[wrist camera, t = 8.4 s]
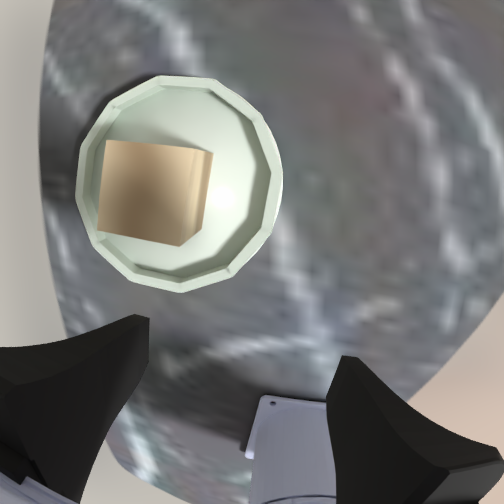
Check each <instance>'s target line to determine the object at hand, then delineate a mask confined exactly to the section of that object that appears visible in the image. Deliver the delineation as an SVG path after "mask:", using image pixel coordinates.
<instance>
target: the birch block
mask: <svg viewBox="0 0 504 504" xmlns="http://www.w3.org/2000/svg"><path fill="white" fill-rule="evenodd" d="M213 155H214V153H210V152H206V151H202V150H198V149H193V148H185V147H177V146H168V145H159V144H150V143H139V142H128V141H115V140H106V147H105V154H104V161H103V169H102V177H101V186H100V196H99V208H98V222H97V230H98V231H103V232H108V233H112V234H117V235H122V236H127V237H132V238H137V239H142V240H147V241H152V242H157V243H162V244H167V245H172V246H177V247H180V246H181V245H183V244H184V243H185V242H186V241H188V240H189V239H190V238H191V237H192V236H194V235H195V234H196V233H197V232H199V231H200V230H201V229H202V224H203V217H204V210H205V204H206V197H207V191H208V185H209V179H210V173H211V167H212V161H213Z"/></svg>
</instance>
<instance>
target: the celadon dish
mask: <svg viewBox="0 0 504 504" xmlns="http://www.w3.org/2000/svg"><path fill="white" fill-rule="evenodd" d="M106 140H115V141H128V142H139V143H150V144H159V145H168V146H177V147H185V148H193V149H198V150H202V151H206V152H210V153H214V155H213V161H212V167H211V173H210V179H209V185H208V191H207V197H206V204H205V210H204V217H203V224H202V229H201V230H200V231H199V232H197V233H196V234H195V235H194V236H192V237H191V238H190V239H189V240H188V241H186V242H185V243H184V244H183V245H181V246H180V247H177V246H172V245H167V244H162V243H157V242H152V241H147V240H142V239H137V238H132V237H127V236H122V235H117V234H112V233H108V232H103V231H98V230H97V222H98V208H99V196H100V186H101V177H102V169H103V161H104V154H105V147H106ZM81 146H82V147H80V154H79V162H78V171H77V181H76V192H75V198H76V199H75V200H76V203H77V206H78V209H79V211H80V214H81V217H82V220H83V222H84V225H85V228H86V230H87V233H88V236H89V238H90V241H91V243H92V246H94V248H95V249H96V250H97V251H98V252H99V253H100V254H101V255H102V256H103V257H104V258H105V259H106V260H107V261H109V262H110V263H111V264H112V265H113V266H114V267H115V268H116V269H117V270H118V271H120V272H121V273H122V274H123V275H124V276H125V277H126V278H127V279H129V280H130V281H131V282H135V283H139V284H144V285H148V286H152V287H156V288H160V289H165V290H169V291H173V292H178V293H183V292H187V291H190V290H193V289H196V288H199V287H203V286H206V285H209V284H212V283H215V282H218V281H222V280H225V279H228V278H231V277H232V276H234V275H235V274H236V273H237V272H238V270H239V269H240V268H241V267H242V266H243V265H244V264H245V263H246V262H247V261H248V260H249V259H250V258H251V257H252V256H253V255H254V254H255V253H256V252H257V251H258V250H259V248H260V247H261V246H262V244H263V243H264V242H265V240H266V239H267V238H268V237H269V235H270V234H271V232H272V228H273V225H274V222H275V220H276V218H277V215H278V211H279V207H280V203H281V197H282V189H283V170H282V165H281V159H280V155H279V151H278V148H277V145H276V142H275V140H274V137H273V135H272V133H271V131H270V129H269V127H268V126H267V124H266V123H265V121H264V119H263V117H262V115H261V113H259V112H258V111H257V110H255V109H254V107H253V106H252V105H250V104H249V103H248V102H247V101H246V100H245V99H244V98H242V97H241V96H239V95H238V94H236V93H235V92H233V91H232V90H230V89H228V88H226V87H225V86H223V85H222V84H221V83H219V82H218V81H217V80H214V79H209V78H197V77H182V76H156V77H154V78H152V79H150V80H148V81H146V82H144V83H142V84H140V85H138V86H137V87H135V88H133V89H131V90H129V91H127V92H125V93H124V94H122V95H120V96H118V97H116V98H115V99H113V100H111V102H109V103H108V105H107V106H106V108H105V109H104V111H103V112H102V113H101V115H100V116H99V118H98V119H97V121H96V122H95V124H94V126H93V127H92V129H91V130H90V132H89V133H88V135H87V137H86V138H85V140H84V141H83V143H82V145H81Z"/></svg>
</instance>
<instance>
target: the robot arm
mask: <svg viewBox="0 0 504 504" xmlns="http://www.w3.org/2000/svg"><path fill="white" fill-rule="evenodd" d="M149 319H150V318H148V317H144V316H140V315H136V314H133V315H130V316H127V317H125V318H122V319H120V320H118V321H115V322H113V323H110V324H108V325H105V326H103V327H100V328H98V329H95V330H93V331H90V332H87V333H84V334H81V335H78V336H75V337H72V338H69V339H65V340H61V341H57V342H52V343H47V344H40V345H33V346H23V347H0V504H80V501H81V498H82V494H83V491H84V488H85V485H86V483H87V480H88V477H89V474H90V472H91V469H92V466H93V464H94V461H95V459H96V457H97V454H98V452H99V450H100V447H101V445H102V443H103V441H104V439H105V437H106V435H107V432H108V430H109V428H110V427H111V425H112V423H113V421H114V420H115V418H116V417H117V415H118V414H119V412H120V411H121V409H122V408H123V406H124V405H125V403H126V402H127V400H128V399H129V397H130V395H131V394H132V392H133V391H134V389H135V388H136V386H137V385H138V383H139V381H140V379H141V377H142V375H143V373H144V371H145V368H146V366H147V364H148V350H149ZM272 401H274V402H275V403H271V402H272ZM245 457H247V458H249V459H254V460H253V469H252V478H251V487H250V496H249V504H479V503H478V502H479V500H480V499H482V498H483V497H484V496H485V495H486V494H487V493H488V492H489V491H490V490H491V489H492V487H494V485H495V484H496V483H497V482H498V481H499V480H500V478H501V477H502V475H503V473H504V460H503V458H502V456H501V455H500V453H499V451H498V450H497V448H496V447H493V446H489V445H486V444H482V443H479V442H476V441H473V440H470V439H467V438H465V437H463V436H460V435H458V434H456V433H453V432H451V431H449V430H447V429H445V428H444V427H442V426H440V425H438V424H436V423H435V422H433V421H431V420H429V419H428V418H426V417H425V416H423V415H422V414H421V413H419V412H418V411H416V410H415V409H413V408H412V407H411V406H409V405H408V404H407V403H406V402H405V401H403V400H402V399H401V398H400V397H399V396H398V395H396V394H395V393H394V392H393V391H392V390H391V389H390V388H389V387H388V386H387V385H386V384H385V383H383V382H382V381H381V380H380V379H379V378H378V377H377V376H376V375H375V374H374V373H373V372H372V371H371V370H370V369H369V368H368V367H367V366H366V365H365V364H364V363H363V362H362V361H361V360H360V359H359V358H357V357H351V356H343V355H342V357H341V359H340V362H339V365H338V368H337V370H336V373H335V375H334V378H333V381H332V383H331V386H330V388H329V391H328V393H327V396H326V403H322V402H313V401H305V400H297V399H290V398H283V397H276V396H270V395H264V396H262V397H261V398H260V401H259V405H258V409H257V412H256V416H255V419H254V423H253V427H252V430H251V434H250V437H249V441H248V444H247V448H246V451H245Z"/></svg>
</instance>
